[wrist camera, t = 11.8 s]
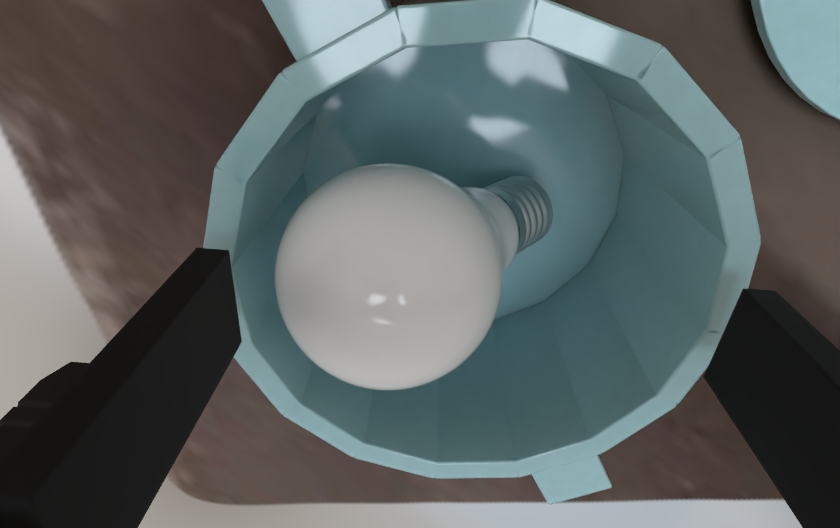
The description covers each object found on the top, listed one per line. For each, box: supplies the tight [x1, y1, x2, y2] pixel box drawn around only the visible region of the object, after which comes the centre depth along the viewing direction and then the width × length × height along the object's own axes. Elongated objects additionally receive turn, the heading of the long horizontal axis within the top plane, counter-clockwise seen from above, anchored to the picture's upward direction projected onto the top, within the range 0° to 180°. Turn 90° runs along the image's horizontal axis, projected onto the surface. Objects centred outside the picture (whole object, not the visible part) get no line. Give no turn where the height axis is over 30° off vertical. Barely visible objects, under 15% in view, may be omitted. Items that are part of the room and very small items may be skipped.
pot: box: [203, 0, 761, 504], centre depth 17 cm, size 14×20×8 cm
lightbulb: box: [274, 163, 553, 391], centre depth 16 cm, size 6×6×11 cm
